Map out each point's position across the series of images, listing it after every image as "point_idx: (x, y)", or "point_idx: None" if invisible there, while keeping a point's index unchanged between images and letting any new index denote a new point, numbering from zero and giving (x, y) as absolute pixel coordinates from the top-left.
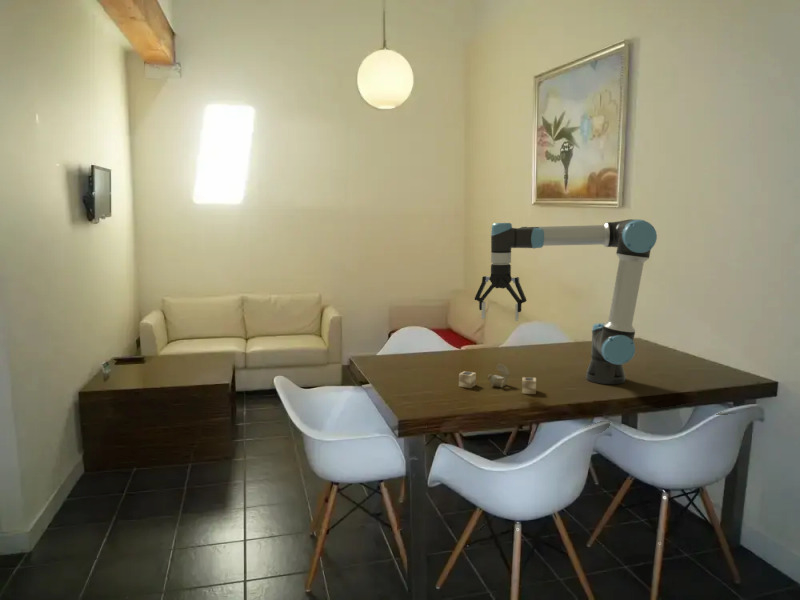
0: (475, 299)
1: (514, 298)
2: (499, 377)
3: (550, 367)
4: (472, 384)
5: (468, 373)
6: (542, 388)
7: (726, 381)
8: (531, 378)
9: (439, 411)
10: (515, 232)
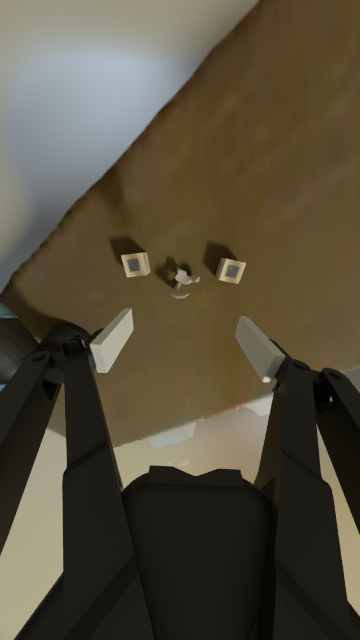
0: (333, 370)
1: (88, 370)
2: (182, 278)
3: (141, 369)
4: (219, 264)
5: (230, 268)
6: (127, 285)
7: None
8: (131, 268)
9: (274, 49)
10: None
